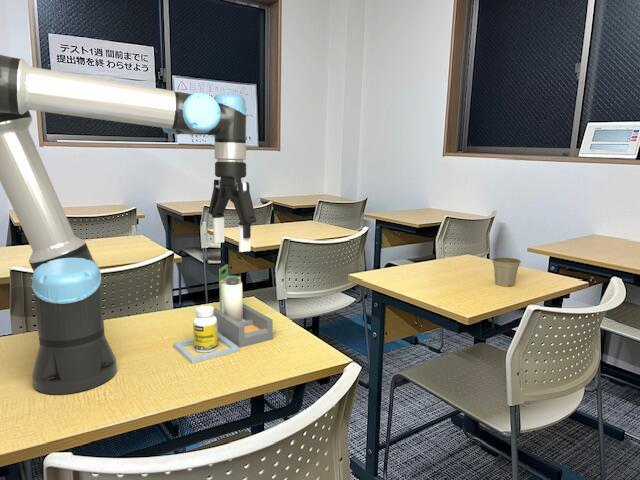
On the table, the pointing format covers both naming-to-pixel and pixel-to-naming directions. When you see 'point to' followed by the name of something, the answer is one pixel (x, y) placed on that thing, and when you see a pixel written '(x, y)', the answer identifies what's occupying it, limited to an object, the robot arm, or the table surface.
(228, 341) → the grey square frame
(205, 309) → the supplement bottle
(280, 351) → the table surface
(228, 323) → the grey cubby shelf
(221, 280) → the ink box
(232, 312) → the white thermos bottle
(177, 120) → the robot arm
